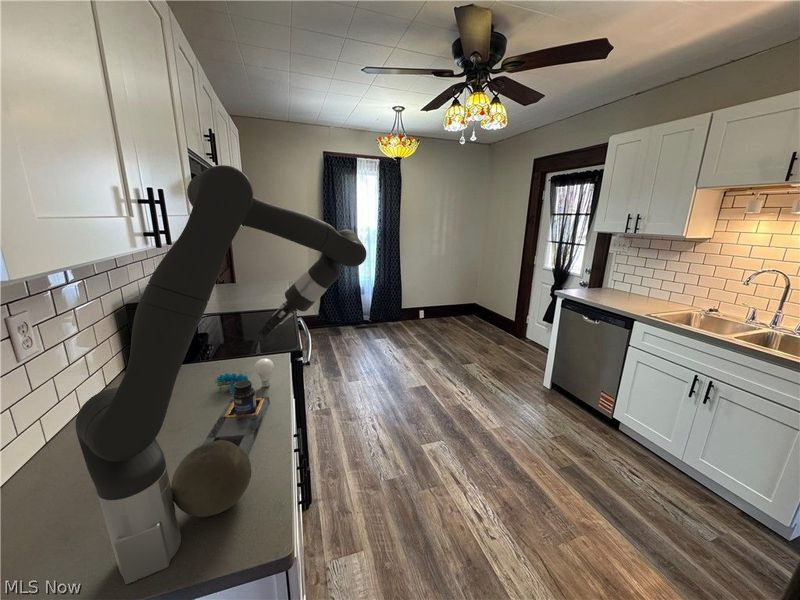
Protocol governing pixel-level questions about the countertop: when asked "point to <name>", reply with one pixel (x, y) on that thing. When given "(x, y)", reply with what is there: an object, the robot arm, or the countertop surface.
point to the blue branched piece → (229, 380)
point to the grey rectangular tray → (239, 425)
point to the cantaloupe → (211, 478)
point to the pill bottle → (244, 398)
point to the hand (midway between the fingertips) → (268, 329)
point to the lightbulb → (264, 370)
